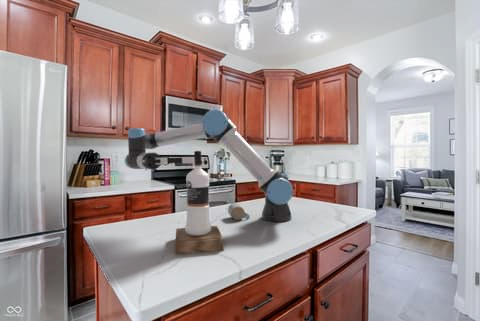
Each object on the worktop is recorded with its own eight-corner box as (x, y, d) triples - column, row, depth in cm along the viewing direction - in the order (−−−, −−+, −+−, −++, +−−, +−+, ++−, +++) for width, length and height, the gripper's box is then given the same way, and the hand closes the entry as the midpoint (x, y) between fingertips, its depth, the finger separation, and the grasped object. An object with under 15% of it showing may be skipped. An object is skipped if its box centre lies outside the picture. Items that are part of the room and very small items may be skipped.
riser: (216, 235, 99) (216, 225, 99) (223, 250, 84) (223, 238, 84) (176, 238, 96) (176, 228, 95) (175, 255, 80) (175, 242, 80)
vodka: (215, 233, 89) (215, 150, 88) (191, 238, 83) (191, 150, 82) (203, 227, 96) (203, 151, 95) (181, 231, 91) (180, 151, 90)
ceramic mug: (231, 221, 121) (231, 205, 121) (227, 217, 129) (228, 202, 128) (251, 220, 123) (251, 205, 123) (247, 216, 131) (247, 202, 131)
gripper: (171, 167, 122) (202, 168, 109) (123, 170, 101) (154, 171, 89) (171, 152, 122) (202, 151, 109) (122, 152, 101) (153, 151, 89)
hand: (180, 160), depth 99 cm, fingers open, 13 cm apart
